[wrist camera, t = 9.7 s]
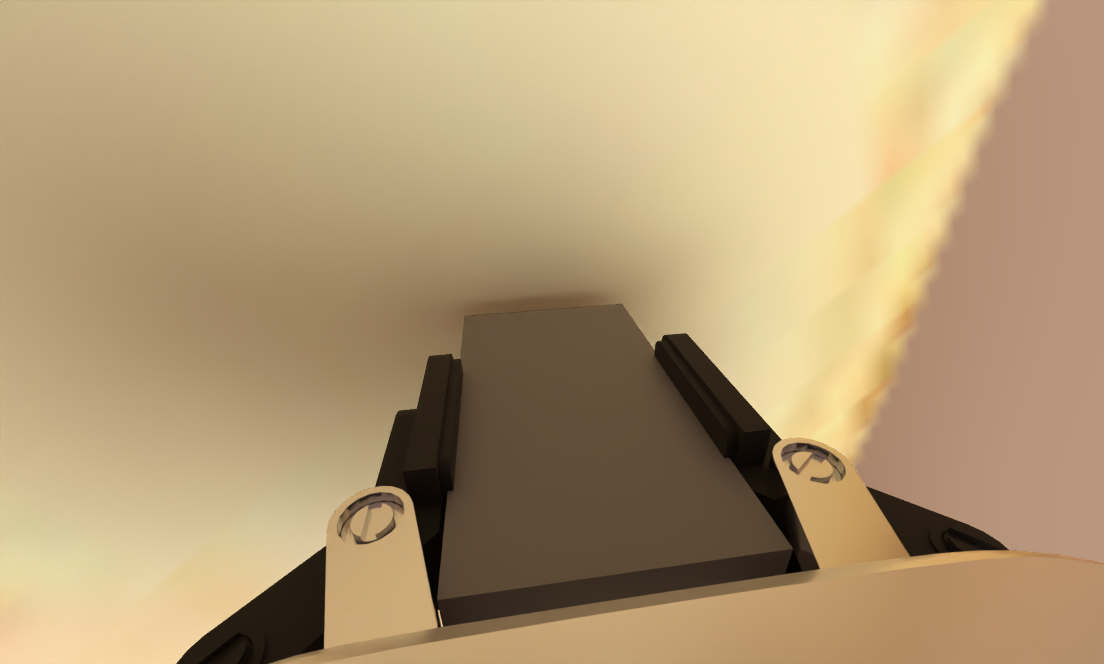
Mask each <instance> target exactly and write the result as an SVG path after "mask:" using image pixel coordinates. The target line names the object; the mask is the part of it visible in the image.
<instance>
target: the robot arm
mask: <svg viewBox="0 0 1104 664" xmlns="http://www.w3.org/2000/svg"><path fill="white" fill-rule="evenodd" d="M654 356H655V358H656V359H657V360H658V362H659V363H660V365H661V366H662V368H663V369H664V371H665V372H666V374H667V375H668V377H669V378H670V380H671V381H672V382H673V384H674V385H675V387H676V388H677V390H678V391H679V393H680V394H681V396H682V397H683V399H684V400H685V402H686V403H687V404H688V406H689V407H690V409H691V410H692V412H693V413H694V415H695V416H696V418H697V419H698V421H699V422H700V424H701V425H702V426H703V428H704V429H705V431H706V432H707V434H708V435H709V437H710V438H711V440H712V441H713V443H714V444H715V446H716V447H717V448H718V450H719V451H720V453H721V454H722V456H723V457H724V458H730V459H731V461H732V462H733V464H734V465H735V466H736V468H737V469H738V471H739V472H740V474H741V475H742V476H743V478H744V479H745V481H746V482H747V484H748V485H749V486H750V488H751V489H752V491H753V492H754V494H755V495H756V496H757V498H758V499H759V501H760V502H761V504H762V505H763V506H764V508H765V509H766V511H767V512H768V514H769V515H770V516H771V518H772V519H773V521H774V522H775V524H776V525H777V526H778V528H779V529H780V531H781V532H782V534H783V535H784V536H785V538H786V539H787V541H788V542H789V544H790V545H791V546H792V548H793V551H792V554H791V557H790V560H789V563H788V566H787V569H786V572H785V574H784V575H777V576H770V577H763V578H756V579H750V580H743V581H736V582H729V583H723V584H716V585H710V586H703V587H696V588H690V589H683V590H676V591H670V592H663V593H657V594H650V595H644V596H637V597H631V598H624V599H618V600H611V601H604V602H598V603H591V604H585V605H578V606H572V607H566V608H559V609H553V610H547V611H540V612H534V613H528V614H521V615H515V616H509V617H502V618H496V619H490V620H483V621H477V622H471V623H464V624H458V625H452V626H445V627H441V622H440V617H439V612H438V610H439V606H438V602H437V596H438V586H439V575H440V565H441V555H442V545H443V534H444V524H445V514H446V503H447V493H448V491H453V490H454V479H455V466H456V454H457V442H458V430H459V418H460V405H461V393H462V381H463V369H462V362H461V359H454V360H453V356H452V354H446V355H435V356H429V358H428V362H427V366H426V371H425V375H424V379H423V384H422V388H421V393H420V397H419V402H418V406H417V409H410V410H400V411H398V412H397V414H396V417H395V420H394V424H393V427H392V431H391V434H390V437H389V441H388V444H387V448H386V451H385V455H384V458H383V462H382V465H381V469H380V472H379V475H378V479H377V482H376V486H375V487H374V488H369V489H366V490H364V491H362V492H359V493H357V494H355V495H354V496H352V497H350V498H349V499H347V500H346V501H345V502H344V503H342V504H341V505H340V506H339V507H338V508H337V509H336V510H335V512H334V514H333V515H332V517H331V519H330V520H329V524H328V528H327V542H326V546H325V547H324V548H322V549H321V550H320V551H318V552H317V553H316V554H314V555H313V556H311V557H310V558H309V559H307V560H306V561H305V562H303V563H302V564H301V565H299V566H298V567H297V568H295V569H294V570H293V571H291V572H290V573H288V574H287V575H286V576H284V577H283V578H282V579H280V580H279V581H278V582H276V583H275V584H274V585H272V586H271V587H270V588H268V589H267V590H265V591H264V592H263V593H261V594H260V595H259V596H257V597H256V598H255V599H253V600H252V601H251V602H249V603H248V604H246V605H245V606H244V607H242V608H241V609H240V610H238V611H237V612H236V613H234V614H233V615H232V616H230V617H229V618H228V619H226V620H225V621H223V622H222V623H221V624H219V625H218V626H217V627H215V628H214V629H213V630H211V631H210V632H209V633H207V634H206V635H205V636H203V637H202V638H201V639H200V640H199V641H198V642H196V643H195V644H194V645H193V646H192V647H191V648H190V649H188V650H187V652H186V653H185V654H184V655H183V656H182V658H181V659H180V660H179V661H178V662H177V664H1104V563H1102V562H1098V561H1093V560H1087V559H1082V558H1077V557H1071V556H1065V555H1060V554H1052V553H1039V552H1028V551H1017V550H1008V549H1007V548H1006V547H1005V546H1004V545H1003V544H1001V543H1000V542H999V541H997V540H996V539H994V538H993V537H991V536H989V535H988V534H986V533H985V532H983V531H981V530H979V529H976V528H974V527H972V526H970V525H968V524H965V523H962V522H959V521H957V520H954V519H952V518H949V517H946V516H944V515H941V514H938V513H936V512H933V511H930V510H928V509H925V508H923V507H920V506H917V505H915V504H912V503H909V502H907V501H904V500H901V499H899V498H896V497H893V496H891V495H888V494H885V493H883V492H880V491H877V490H875V489H872V488H869V487H867V486H865V484H864V483H863V481H862V480H861V478H860V476H859V475H858V473H857V472H856V470H855V469H854V467H853V465H852V464H851V463H850V462H849V461H848V459H847V458H846V457H845V456H844V455H842V454H841V453H839V452H838V451H837V450H835V449H834V448H832V447H830V446H828V445H826V444H823V443H820V442H817V441H814V440H811V439H804V438H788V439H784V440H781V439H780V437H779V436H778V435H777V434H776V433H775V432H774V431H773V430H772V428H771V427H770V426H769V425H768V424H767V423H766V422H765V421H764V420H763V418H762V417H761V416H760V415H759V414H758V413H757V412H756V411H755V409H754V408H753V407H752V406H751V405H750V404H749V403H748V402H747V401H746V399H745V398H744V397H743V396H742V395H741V394H740V393H739V392H738V390H737V389H736V388H735V387H734V386H733V385H732V384H731V383H730V382H729V380H728V379H727V378H726V377H725V376H724V375H723V374H722V373H721V371H720V370H719V369H718V368H717V367H716V366H715V365H714V364H713V362H712V361H711V360H710V359H709V358H708V357H707V356H706V355H705V354H704V352H703V351H702V350H701V349H700V348H699V347H698V346H697V345H696V343H695V342H694V341H693V340H692V339H691V338H690V337H689V336H688V335H687V334H686V333H683V334H672V335H664V336H663V338H662V341H657V342H656V345H655V354H654Z"/></svg>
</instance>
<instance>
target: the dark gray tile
mask: <svg viewBox="0 0 1104 664" xmlns="http://www.w3.org/2000/svg"><path fill="white" fill-rule="evenodd" d="M654 354H655V351H654V349H653V348H652V346H651V345H650V343H649V342H648V341H647V339H646V338H645V336H644V335H643V333H642V332H641V331H640V329H639V328H638V326H637V325H636V323H635V322H634V321H633V319H632V318H631V316H630V315H629V313H628V312H627V311H626V309H625V308H624V306H623V305H622V304H615V305H603V306H590V307H577V308H564V309H551V310H538V311H525V312H512V313H499V314H487V315H474V316H465V318H464V329H463V339H462V349H461V362H462V369H463V381H462V393H461V405H460V418H459V430H458V442H457V454H456V466H455V479H454V490H453V491H448V493H447V503H446V514H445V524H444V534H443V545H442V555H441V565H440V575H439V586H438V596H437V602H438V606H439V611H440V615H441V619H442V624H443V627H445V626H452V625H458V624H464V623H471V622H477V621H483V620H490V619H496V618H502V617H509V616H515V615H521V614H528V613H534V612H540V611H547V610H553V609H559V608H566V607H572V606H578V605H585V604H591V603H598V602H604V601H611V600H618V599H624V598H631V597H637V596H644V595H650V594H657V593H663V592H670V591H676V590H683V589H690V588H696V587H703V586H710V585H716V584H723V583H729V582H736V581H743V580H750V579H756V578H763V577H770V576H777V575H784V574H785V572H786V569H787V566H788V563H789V560H790V557H791V554H792V551H793V548H792V546H791V545H790V544H789V542H788V541H787V539H786V538H785V536H784V535H783V534H782V532H781V531H780V529H779V528H778V526H777V525H776V524H775V522H774V521H773V519H772V518H771V516H770V515H769V514H768V512H767V511H766V509H765V508H764V506H763V505H762V504H761V502H760V501H759V499H758V498H757V496H756V495H755V494H754V492H753V491H752V489H751V488H750V486H749V485H748V484H747V482H746V481H745V479H744V478H743V476H742V475H741V474H740V472H739V471H738V469H737V468H736V466H735V465H734V464H733V462H732V461H731V459H730V458H724V457H723V456H722V454H721V453H720V451H719V450H718V448H717V447H716V446H715V444H714V443H713V441H712V440H711V438H710V437H709V435H708V434H707V432H706V431H705V429H704V428H703V426H702V425H701V424H700V422H699V421H698V419H697V418H696V416H695V415H694V413H693V412H692V410H691V409H690V407H689V406H688V404H687V403H686V402H685V400H684V399H683V397H682V396H681V394H680V393H679V391H678V390H677V388H676V387H675V385H674V384H673V382H672V381H671V380H670V378H669V377H668V375H667V374H666V372H665V371H664V369H663V368H662V366H661V365H660V363H659V362H658V360H657V359H656V358H655V356H654Z"/></svg>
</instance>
